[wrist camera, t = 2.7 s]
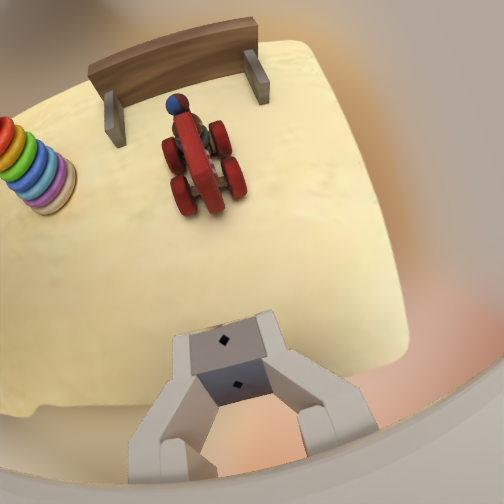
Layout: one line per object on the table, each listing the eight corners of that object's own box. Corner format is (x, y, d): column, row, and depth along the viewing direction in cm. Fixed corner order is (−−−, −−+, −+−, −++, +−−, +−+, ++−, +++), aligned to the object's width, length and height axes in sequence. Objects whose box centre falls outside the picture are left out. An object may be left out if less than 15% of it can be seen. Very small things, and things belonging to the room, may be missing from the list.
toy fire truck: (219, 122, 33) (208, 59, 23) (253, 212, 31) (251, 162, 20) (164, 141, 33) (136, 83, 23) (189, 234, 30) (158, 194, 20)
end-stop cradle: (274, 102, 34) (277, 55, 26) (112, 150, 33) (84, 113, 25) (252, 59, 36) (252, 16, 28) (110, 101, 35) (88, 65, 27)
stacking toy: (63, 222, 31) (-47, 153, 12) (26, 210, 31) (-70, 151, 13) (87, 164, 32) (1, 72, 14) (48, 159, 33) (-31, 84, 15)
